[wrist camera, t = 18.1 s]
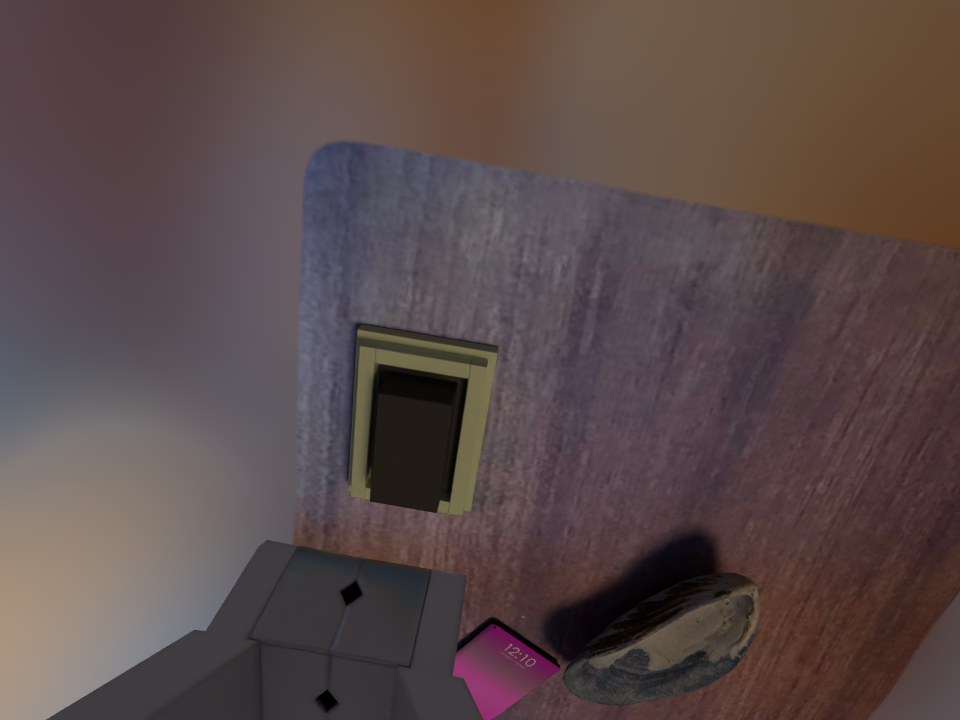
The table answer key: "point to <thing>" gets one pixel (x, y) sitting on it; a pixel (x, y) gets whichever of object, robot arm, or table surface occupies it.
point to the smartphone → (501, 669)
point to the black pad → (412, 441)
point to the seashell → (669, 642)
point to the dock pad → (428, 360)
